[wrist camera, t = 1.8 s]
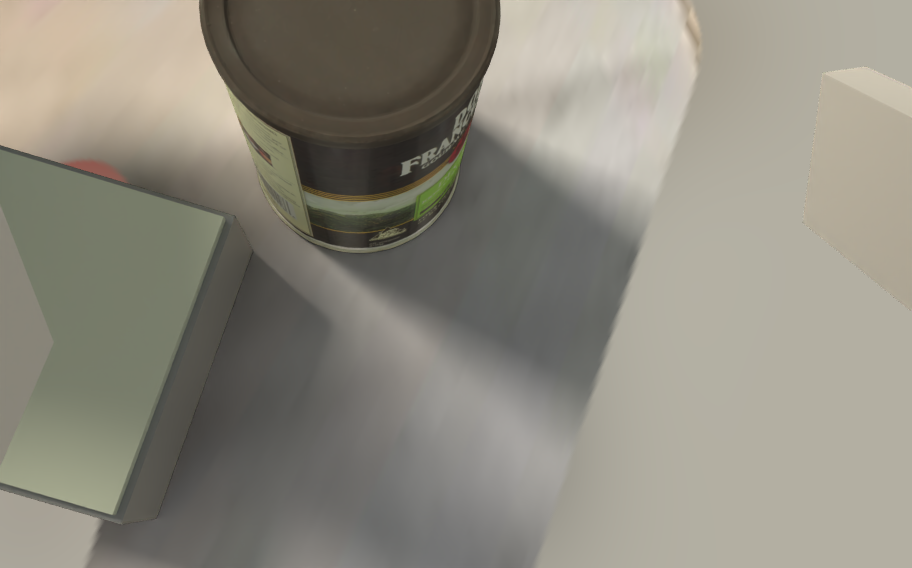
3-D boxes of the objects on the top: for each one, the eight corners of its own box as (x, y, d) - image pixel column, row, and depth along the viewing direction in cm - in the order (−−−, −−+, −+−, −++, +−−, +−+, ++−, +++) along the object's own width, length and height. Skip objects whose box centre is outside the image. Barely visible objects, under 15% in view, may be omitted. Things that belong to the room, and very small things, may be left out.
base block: (-128, 436, 38) (-219, 427, 32) (-9, 172, 41) (-72, 120, 35) (156, 518, 38) (117, 525, 32) (252, 250, 41) (233, 212, 35)
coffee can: (495, 121, 44) (551, -43, 30) (399, 291, 41) (411, 196, 28) (321, 27, 44) (298, -177, 31) (214, 190, 42) (137, 48, 28)
